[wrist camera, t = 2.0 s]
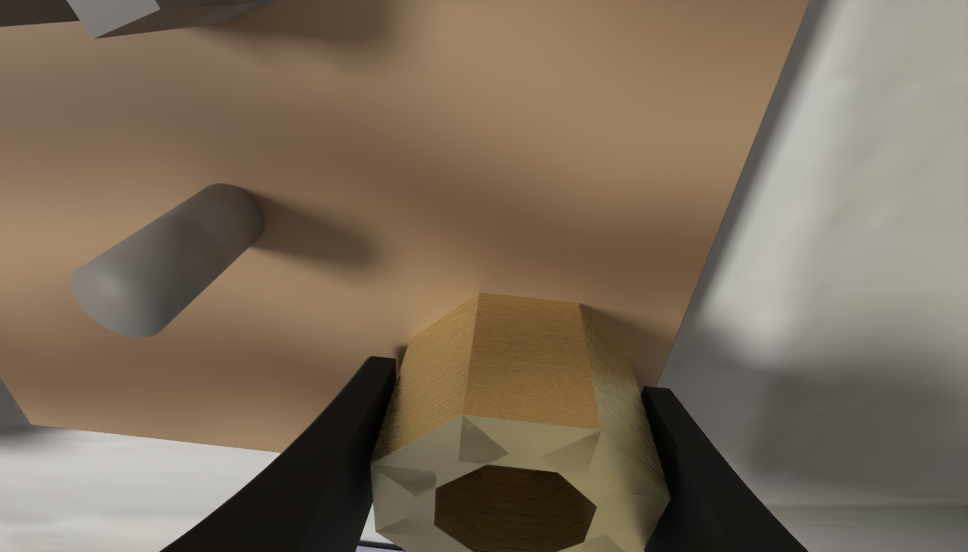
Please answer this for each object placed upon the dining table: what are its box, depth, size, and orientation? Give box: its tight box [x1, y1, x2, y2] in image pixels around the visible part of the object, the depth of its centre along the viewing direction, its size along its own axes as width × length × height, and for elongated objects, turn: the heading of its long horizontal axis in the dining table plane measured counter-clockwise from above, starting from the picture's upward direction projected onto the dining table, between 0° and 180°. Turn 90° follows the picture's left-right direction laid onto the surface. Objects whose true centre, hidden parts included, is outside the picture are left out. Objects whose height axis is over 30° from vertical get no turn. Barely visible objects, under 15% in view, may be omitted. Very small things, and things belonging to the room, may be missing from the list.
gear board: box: [0, 0, 810, 453], centre depth 8 cm, size 18×18×5 cm
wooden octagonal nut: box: [370, 292, 671, 552], centre depth 10 cm, size 5×5×4 cm
